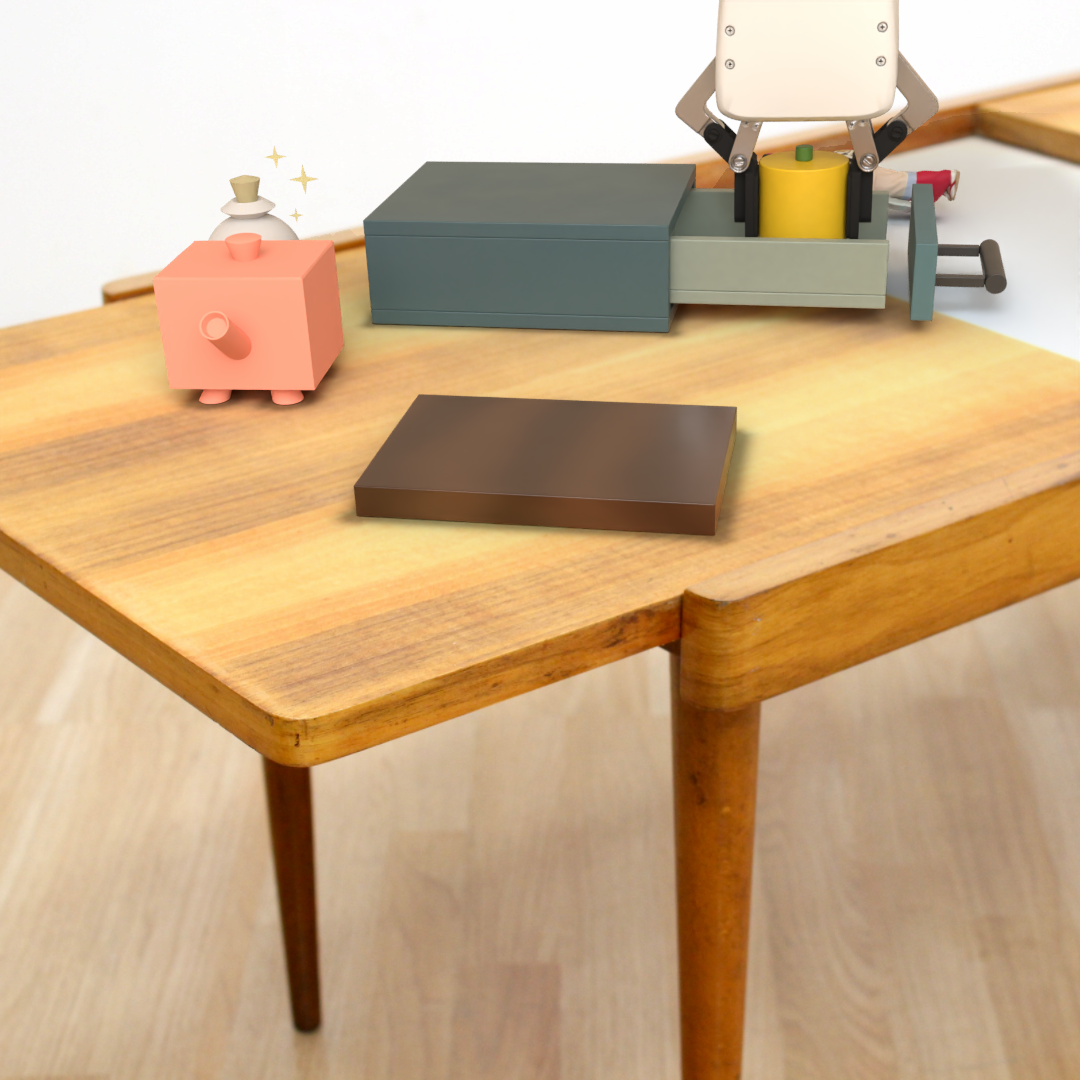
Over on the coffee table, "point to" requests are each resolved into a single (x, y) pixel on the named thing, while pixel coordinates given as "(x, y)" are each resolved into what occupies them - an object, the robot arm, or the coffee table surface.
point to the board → (554, 464)
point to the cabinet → (528, 245)
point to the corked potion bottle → (254, 210)
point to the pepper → (803, 194)
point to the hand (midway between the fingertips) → (802, 231)
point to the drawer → (813, 260)
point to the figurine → (909, 183)
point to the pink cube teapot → (250, 316)
